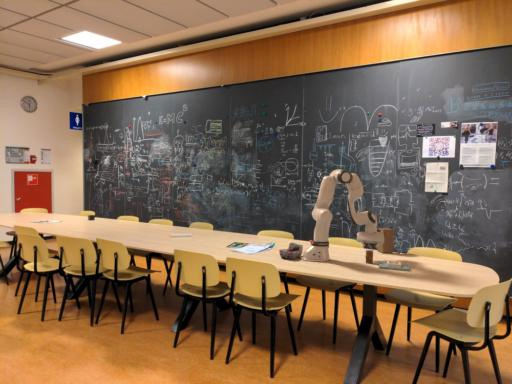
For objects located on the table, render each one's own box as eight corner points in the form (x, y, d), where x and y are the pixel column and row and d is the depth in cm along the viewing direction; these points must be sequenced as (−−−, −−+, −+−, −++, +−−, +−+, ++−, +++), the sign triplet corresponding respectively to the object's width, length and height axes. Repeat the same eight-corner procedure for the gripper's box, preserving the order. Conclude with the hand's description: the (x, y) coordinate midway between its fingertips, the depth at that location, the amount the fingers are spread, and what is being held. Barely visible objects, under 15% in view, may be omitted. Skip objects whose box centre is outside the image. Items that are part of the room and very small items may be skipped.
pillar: (365, 263, 279) (366, 251, 279) (365, 261, 284) (366, 249, 283) (372, 263, 277) (373, 251, 277) (372, 262, 282) (373, 250, 282)
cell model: (304, 242, 297) (292, 247, 281) (304, 256, 298) (292, 261, 282) (290, 240, 305) (277, 244, 288) (290, 253, 305) (277, 258, 289)
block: (382, 253, 315) (383, 229, 314) (376, 251, 325) (377, 227, 324) (393, 253, 317) (394, 229, 316) (387, 250, 327) (388, 227, 326)
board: (378, 268, 264) (379, 263, 264) (379, 263, 279) (379, 259, 279) (409, 271, 258) (410, 266, 258) (408, 266, 273) (408, 261, 273)
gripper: (357, 228, 297) (355, 243, 288) (384, 230, 290) (384, 245, 281) (357, 233, 301) (356, 248, 292) (384, 235, 295) (384, 250, 286)
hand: (370, 246), depth 287 cm, fingers open, 8 cm apart
